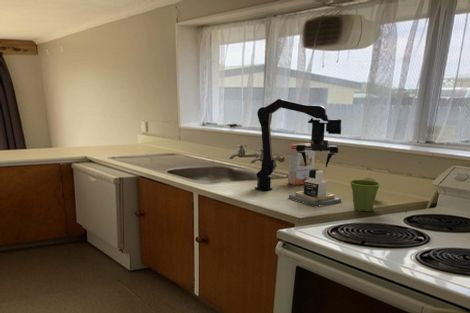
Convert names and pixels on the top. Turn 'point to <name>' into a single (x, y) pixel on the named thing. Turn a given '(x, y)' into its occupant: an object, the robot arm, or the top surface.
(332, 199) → the picture frame
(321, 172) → the medicine bottle
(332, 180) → the top surface
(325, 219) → the top surface
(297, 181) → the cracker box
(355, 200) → the plant pot
